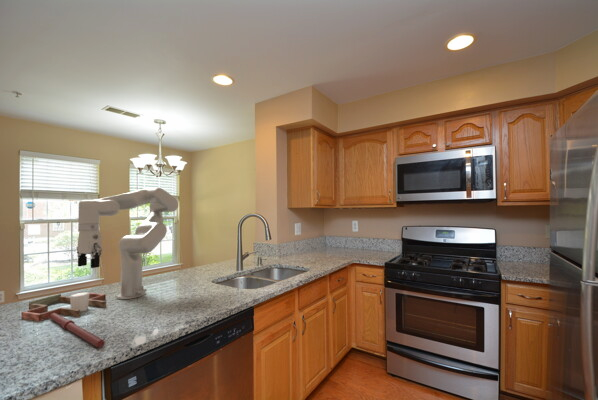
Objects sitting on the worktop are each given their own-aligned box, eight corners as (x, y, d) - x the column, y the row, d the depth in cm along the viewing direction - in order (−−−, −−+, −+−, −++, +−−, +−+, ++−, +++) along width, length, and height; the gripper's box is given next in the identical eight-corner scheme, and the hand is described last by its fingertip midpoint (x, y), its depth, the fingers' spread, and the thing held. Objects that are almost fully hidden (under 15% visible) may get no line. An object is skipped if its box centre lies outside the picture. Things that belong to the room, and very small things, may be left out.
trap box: (121, 301, 129) (121, 294, 129) (56, 324, 103) (56, 315, 103) (76, 296, 138) (76, 289, 138) (6, 315, 113) (6, 307, 113)
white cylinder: (93, 307, 122) (93, 291, 122) (79, 312, 115) (79, 296, 115) (79, 306, 122) (80, 291, 123) (65, 312, 115) (65, 296, 116)
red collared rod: (47, 321, 107) (48, 313, 107) (57, 318, 110) (58, 310, 110) (94, 351, 83) (95, 341, 83) (106, 346, 86) (106, 336, 86)
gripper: (110, 227, 117) (109, 266, 116) (87, 227, 124) (87, 263, 123) (91, 228, 110) (90, 270, 109) (68, 228, 117) (67, 267, 117)
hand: (88, 266), depth 116 cm, fingers open, 9 cm apart
